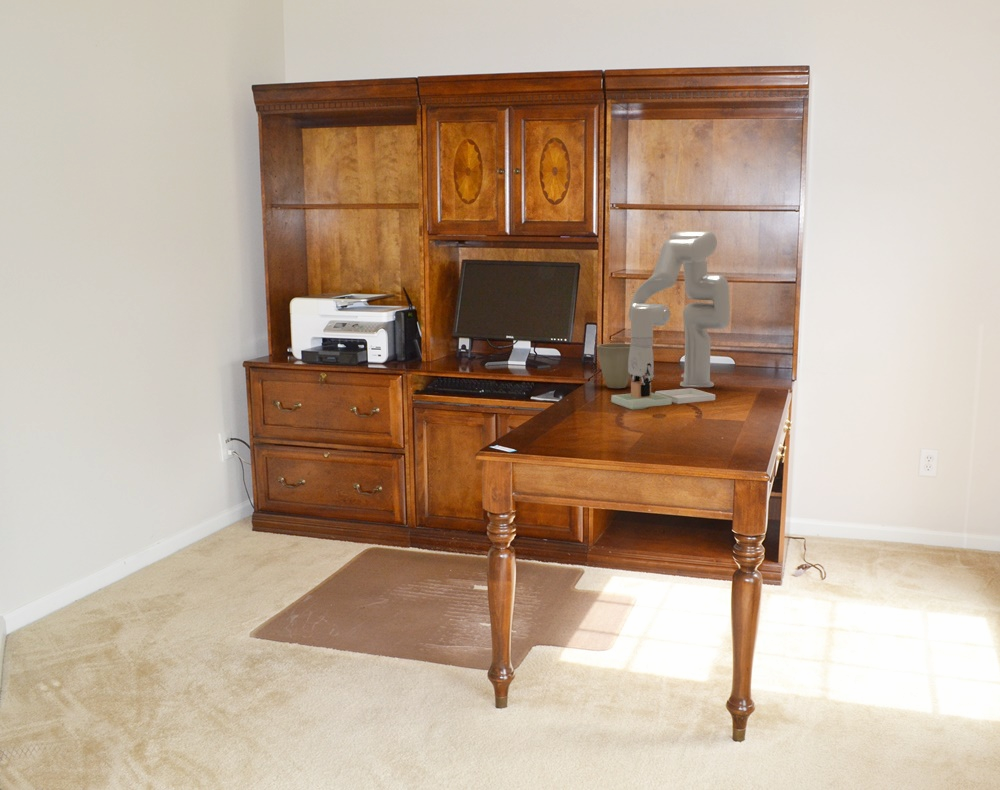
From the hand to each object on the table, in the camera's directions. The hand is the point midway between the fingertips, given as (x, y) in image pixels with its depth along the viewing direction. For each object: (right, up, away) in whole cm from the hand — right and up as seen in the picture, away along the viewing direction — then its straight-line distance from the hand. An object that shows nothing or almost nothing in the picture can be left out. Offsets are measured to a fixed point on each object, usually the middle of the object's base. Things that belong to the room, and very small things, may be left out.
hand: (641, 394), depth 327 cm
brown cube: (0, -1, 0) cm, 1 cm away
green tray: (0, -3, +1) cm, 3 cm away
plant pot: (-4, +3, +36) cm, 37 cm away
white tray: (+16, -2, +7) cm, 18 cm away
